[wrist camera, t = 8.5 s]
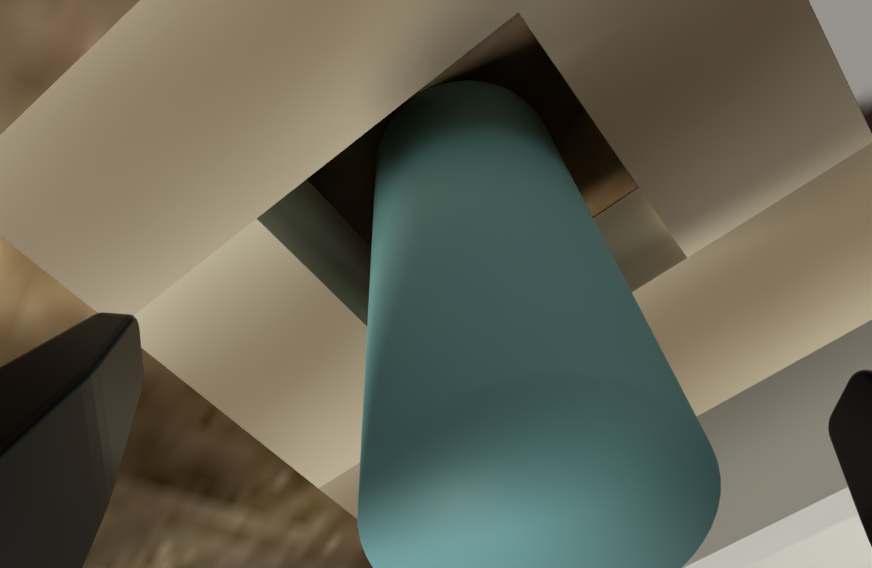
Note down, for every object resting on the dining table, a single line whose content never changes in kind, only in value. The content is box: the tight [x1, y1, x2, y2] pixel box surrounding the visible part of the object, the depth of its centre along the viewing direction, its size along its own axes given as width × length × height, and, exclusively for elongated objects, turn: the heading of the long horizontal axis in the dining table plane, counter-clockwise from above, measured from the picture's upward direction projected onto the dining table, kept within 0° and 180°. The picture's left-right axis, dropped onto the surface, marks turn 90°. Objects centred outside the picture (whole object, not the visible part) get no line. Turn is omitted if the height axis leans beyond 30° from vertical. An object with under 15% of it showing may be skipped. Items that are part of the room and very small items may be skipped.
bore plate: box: [0, 0, 872, 520], centre depth 14 cm, size 12×12×3 cm
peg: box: [357, 80, 721, 568], centre depth 11 cm, size 4×4×9 cm
